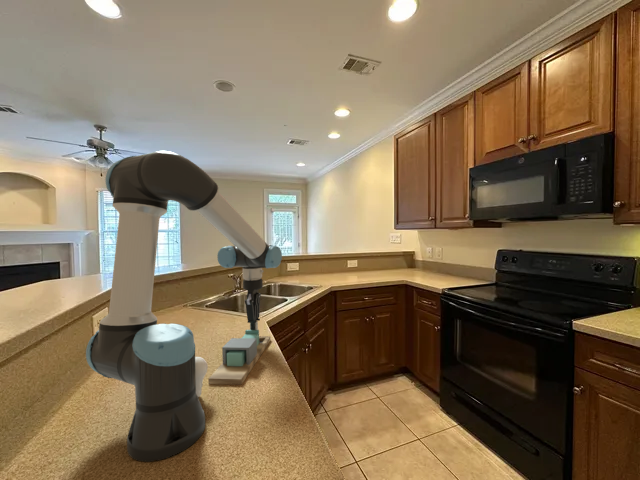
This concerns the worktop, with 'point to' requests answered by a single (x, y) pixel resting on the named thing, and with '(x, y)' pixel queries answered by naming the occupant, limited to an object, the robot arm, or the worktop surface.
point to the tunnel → (241, 348)
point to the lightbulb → (200, 373)
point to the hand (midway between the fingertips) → (254, 338)
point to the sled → (240, 355)
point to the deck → (237, 368)
